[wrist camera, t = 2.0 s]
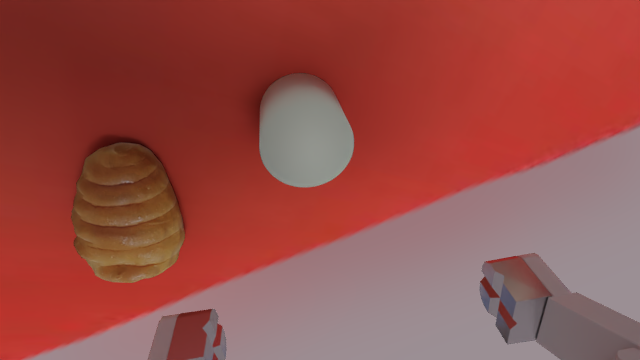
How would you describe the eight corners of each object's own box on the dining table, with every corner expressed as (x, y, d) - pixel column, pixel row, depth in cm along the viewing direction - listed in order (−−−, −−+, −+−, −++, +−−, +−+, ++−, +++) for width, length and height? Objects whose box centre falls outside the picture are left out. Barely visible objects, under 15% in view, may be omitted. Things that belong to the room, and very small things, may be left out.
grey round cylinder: (268, 153, 26) (269, 194, 22) (252, 79, 23) (250, 110, 19) (341, 140, 26) (357, 178, 22) (334, 66, 23) (350, 94, 19)
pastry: (66, 133, 24) (35, 163, 20) (181, 139, 25) (170, 168, 22) (92, 251, 28) (71, 290, 25) (188, 251, 30) (180, 288, 26)
